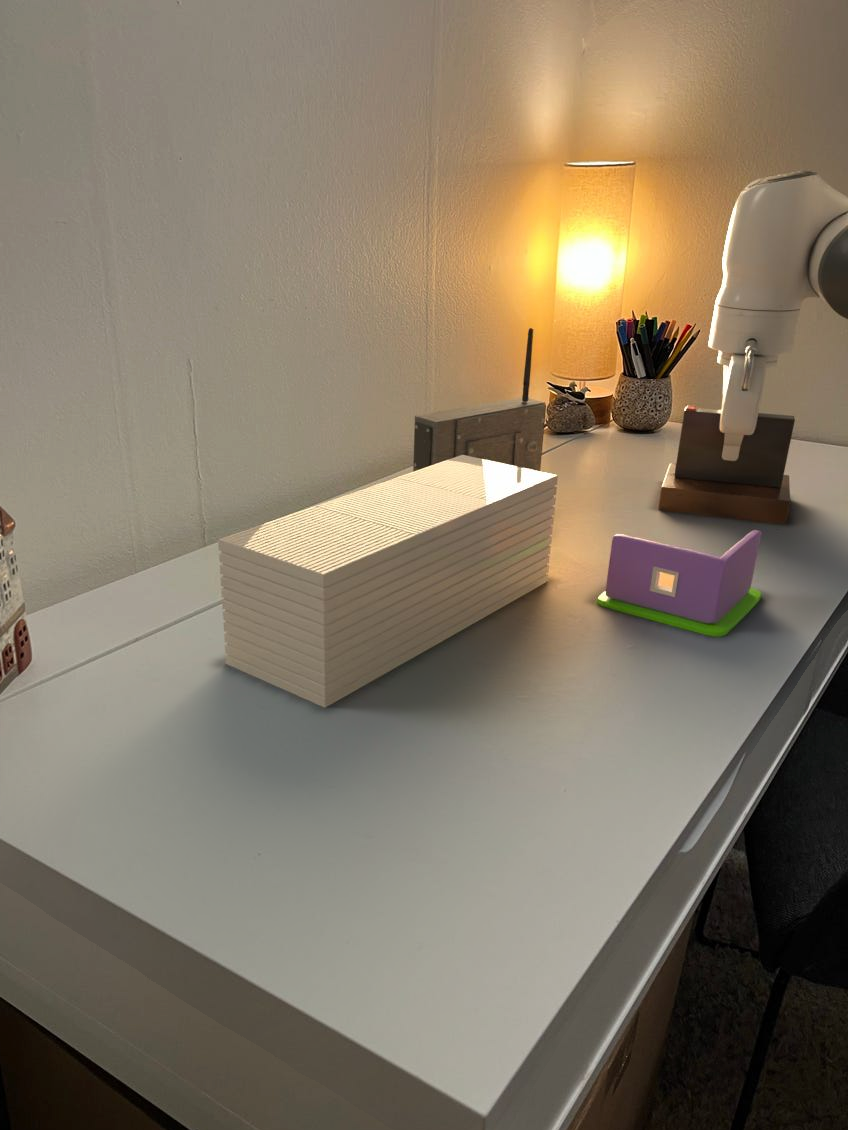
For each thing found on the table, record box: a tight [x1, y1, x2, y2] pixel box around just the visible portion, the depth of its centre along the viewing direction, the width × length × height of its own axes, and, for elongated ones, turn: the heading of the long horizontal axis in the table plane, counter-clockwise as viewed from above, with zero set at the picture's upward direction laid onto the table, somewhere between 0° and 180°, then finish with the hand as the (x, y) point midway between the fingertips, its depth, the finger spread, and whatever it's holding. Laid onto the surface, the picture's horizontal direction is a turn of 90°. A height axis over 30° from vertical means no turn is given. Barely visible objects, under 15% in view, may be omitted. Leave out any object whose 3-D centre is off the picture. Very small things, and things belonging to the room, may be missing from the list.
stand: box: [657, 462, 791, 525], centre depth 115 cm, size 14×11×3 cm
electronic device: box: [412, 327, 547, 472], centre depth 109 cm, size 17×7×20 cm, turn 128°
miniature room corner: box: [596, 529, 762, 637], centre depth 87 cm, size 12×12×7 cm
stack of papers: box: [217, 455, 559, 708], centre depth 82 cm, size 32×11×11 cm, turn 140°
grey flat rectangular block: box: [674, 405, 796, 488], centre depth 112 cm, size 12×2×8 cm, turn 70°
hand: (729, 455), depth 113 cm, fingers closed, pressing on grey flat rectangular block
